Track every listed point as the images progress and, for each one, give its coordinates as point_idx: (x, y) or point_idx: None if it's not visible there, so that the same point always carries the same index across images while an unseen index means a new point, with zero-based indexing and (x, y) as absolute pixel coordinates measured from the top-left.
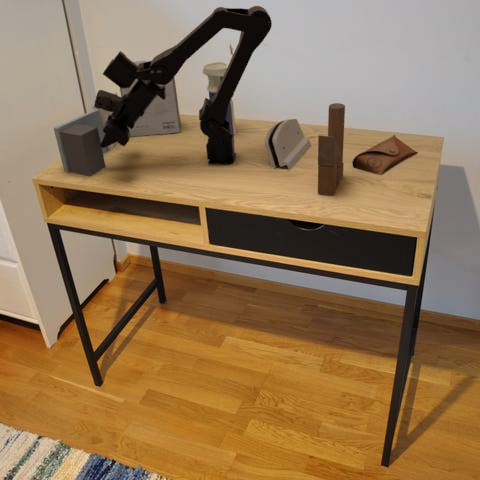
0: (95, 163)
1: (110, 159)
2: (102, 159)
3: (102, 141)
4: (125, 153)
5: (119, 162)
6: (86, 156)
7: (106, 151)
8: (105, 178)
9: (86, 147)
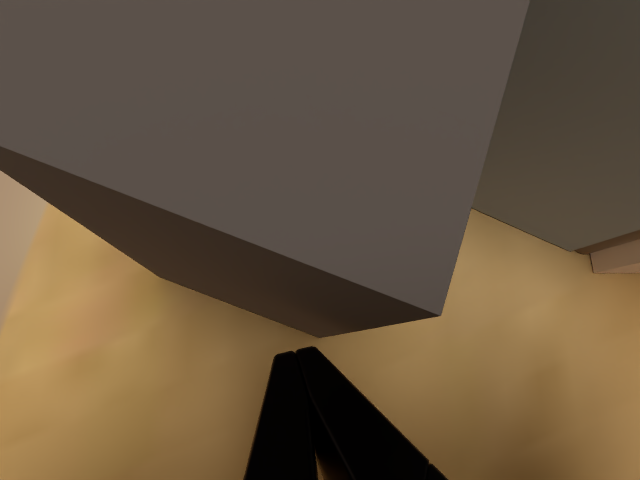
0: (227, 296)
1: (450, 325)
2: (310, 329)
3: (259, 419)
4: (562, 406)
5: (405, 419)
6: (115, 244)
7: (567, 248)
8: (114, 415)
9: (108, 230)
